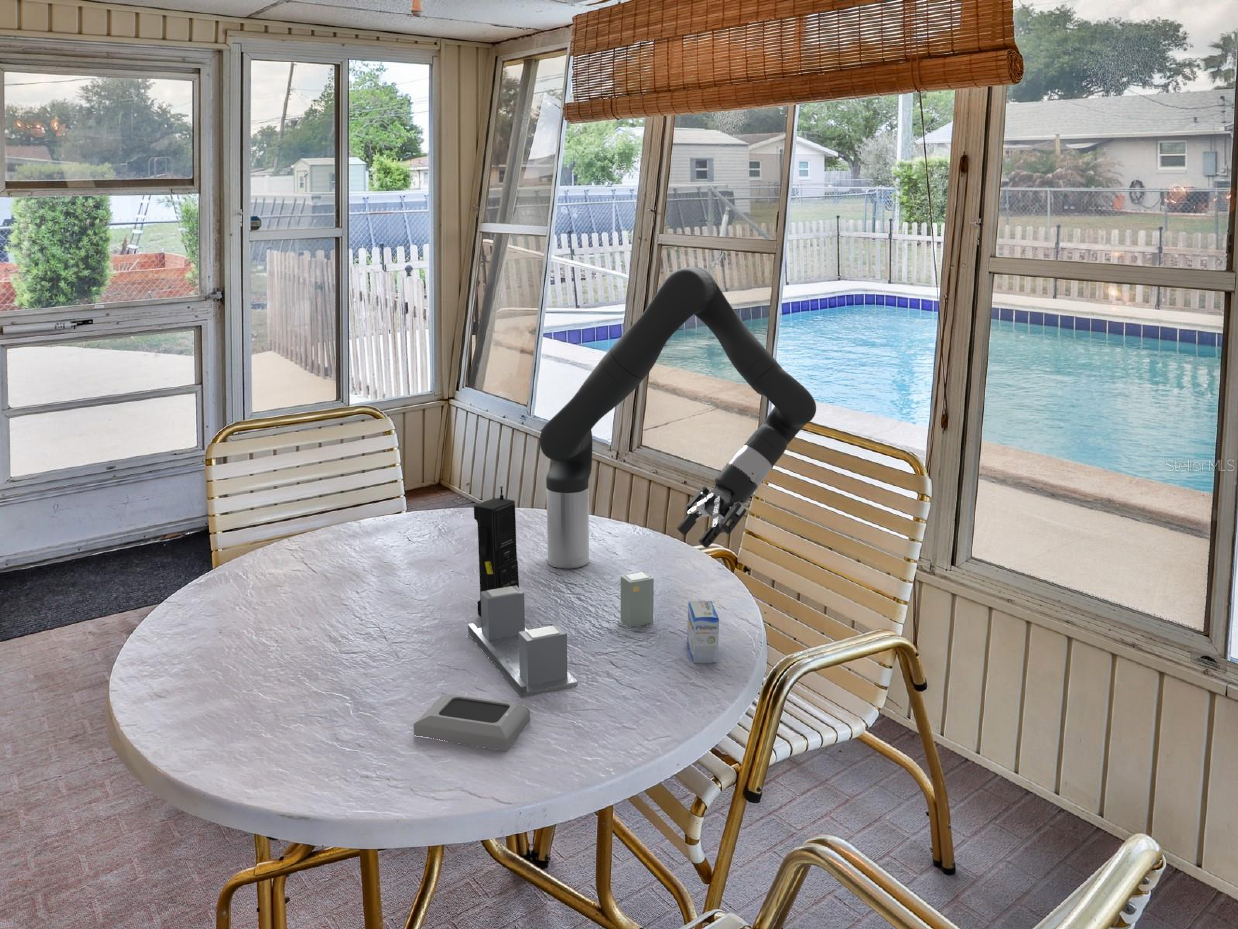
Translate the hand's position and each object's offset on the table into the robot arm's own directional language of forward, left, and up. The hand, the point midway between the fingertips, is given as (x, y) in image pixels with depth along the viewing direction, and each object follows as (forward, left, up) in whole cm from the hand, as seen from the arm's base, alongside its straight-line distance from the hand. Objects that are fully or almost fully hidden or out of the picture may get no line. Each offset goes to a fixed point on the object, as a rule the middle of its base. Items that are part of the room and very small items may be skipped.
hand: (691, 538), depth 198 cm
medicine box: (+18, -8, -15) cm, 25 cm away
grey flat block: (+26, -53, -16) cm, 61 cm away
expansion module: (0, -12, -15) cm, 19 cm away
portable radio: (-14, -35, -15) cm, 40 cm away
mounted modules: (+6, -38, -15) cm, 41 cm away
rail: (+6, -38, -15) cm, 41 cm away
